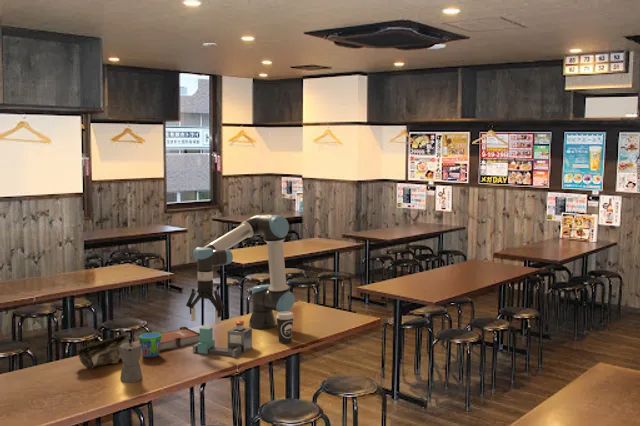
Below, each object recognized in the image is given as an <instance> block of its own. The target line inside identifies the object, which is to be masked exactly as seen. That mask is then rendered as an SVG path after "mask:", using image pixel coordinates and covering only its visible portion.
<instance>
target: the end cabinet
mask: <svg viewBox="0 0 640 426" xmlns="http://www.w3.org/2000/svg"><path fill="white" fill-rule="evenodd" d="M237 347H242V353H243V354H244V353H246V352H248V351H249V350H251V349H252V348H253V328H252V327H244V326H243V331H236V326H235V327H233V328H230V329H229V330H227V348H229V349H235V348H237ZM242 353H241V354H242Z"/></svg>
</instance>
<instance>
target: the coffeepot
mask: <svg viewBox="0 0 640 426" xmlns="http://www.w3.org/2000/svg"><path fill="white" fill-rule="evenodd" d="M127 341H128V343H124V344H122V345H120V346H119V348H120V354H121V359H120V360H121V361H122V365H121V371H120V381H121V382H122V383H135V382H139V381H141V380H142V379H143V373H142V368H141V364H140V359H141V353H142V348H141V347H142V345H141V344H140V342H134V339H133V338H128V339H127Z"/></svg>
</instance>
